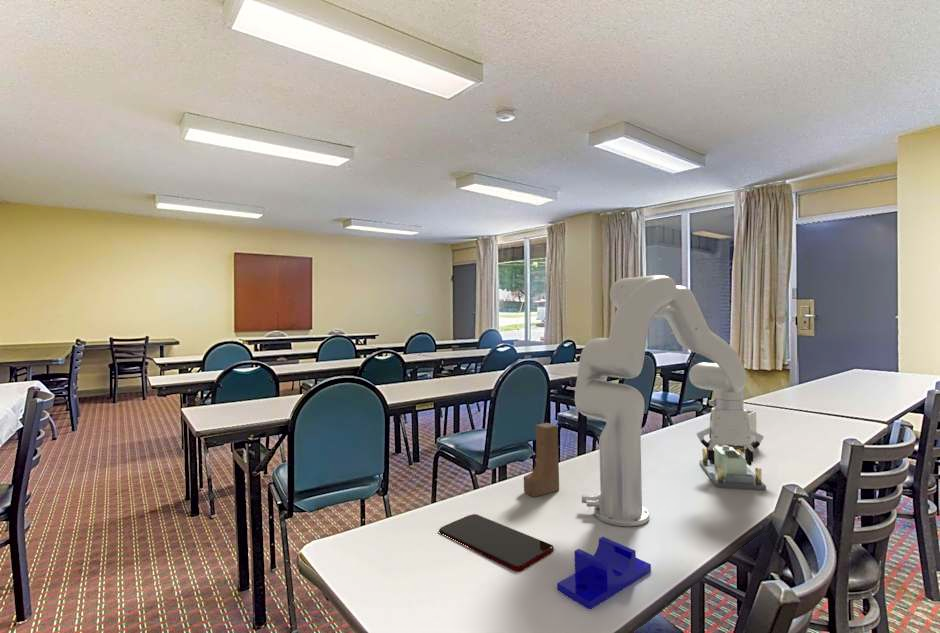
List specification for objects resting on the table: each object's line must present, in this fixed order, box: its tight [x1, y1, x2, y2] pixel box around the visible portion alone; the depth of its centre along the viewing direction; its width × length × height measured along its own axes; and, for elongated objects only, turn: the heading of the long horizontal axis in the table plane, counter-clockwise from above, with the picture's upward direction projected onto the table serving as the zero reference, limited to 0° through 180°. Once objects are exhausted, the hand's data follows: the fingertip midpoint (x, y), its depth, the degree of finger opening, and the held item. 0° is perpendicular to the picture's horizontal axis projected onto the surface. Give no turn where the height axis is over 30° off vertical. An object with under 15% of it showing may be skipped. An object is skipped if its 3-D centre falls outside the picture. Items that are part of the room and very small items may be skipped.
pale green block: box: [713, 445, 748, 478], centre depth 139 cm, size 5×13×6 cm, turn 167°
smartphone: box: [438, 513, 555, 572], centre depth 105 cm, size 12×2×25 cm
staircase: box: [717, 409, 757, 454], centre depth 166 cm, size 9×11×17 cm
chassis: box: [698, 447, 767, 491], centre depth 139 cm, size 12×20×5 cm, turn 167°
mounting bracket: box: [556, 536, 652, 610], centre depth 88 cm, size 18×7×6 cm, turn 127°
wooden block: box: [523, 422, 560, 498], centre depth 131 cm, size 9×4×18 cm, turn 119°
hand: (729, 463), depth 139 cm, fingers open, 9 cm apart
